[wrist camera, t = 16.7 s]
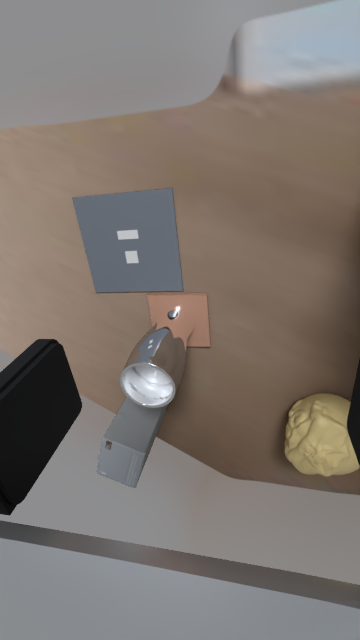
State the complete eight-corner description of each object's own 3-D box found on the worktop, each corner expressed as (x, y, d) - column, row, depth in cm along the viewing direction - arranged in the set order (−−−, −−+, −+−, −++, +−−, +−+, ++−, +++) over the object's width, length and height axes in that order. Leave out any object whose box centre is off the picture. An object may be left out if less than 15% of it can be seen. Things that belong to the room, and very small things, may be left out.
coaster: (207, 293, 45) (206, 294, 44) (210, 344, 49) (210, 346, 48) (148, 294, 47) (147, 295, 46) (156, 343, 51) (155, 345, 50)
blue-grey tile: (172, 187, 39) (171, 188, 38) (183, 290, 45) (183, 290, 45) (72, 197, 42) (72, 197, 42) (96, 292, 48) (96, 292, 48)
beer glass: (152, 337, 50) (118, 402, 37) (154, 298, 46) (117, 356, 33) (194, 344, 49) (174, 414, 36) (199, 306, 45) (179, 368, 32)
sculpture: (302, 372, 48) (314, 425, 39) (375, 398, 48) (405, 458, 38) (271, 419, 54) (275, 475, 45) (336, 443, 54) (353, 504, 44)
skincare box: (165, 412, 58) (140, 492, 45) (130, 401, 59) (94, 477, 45) (175, 380, 54) (150, 458, 40) (136, 368, 54) (99, 441, 41)
